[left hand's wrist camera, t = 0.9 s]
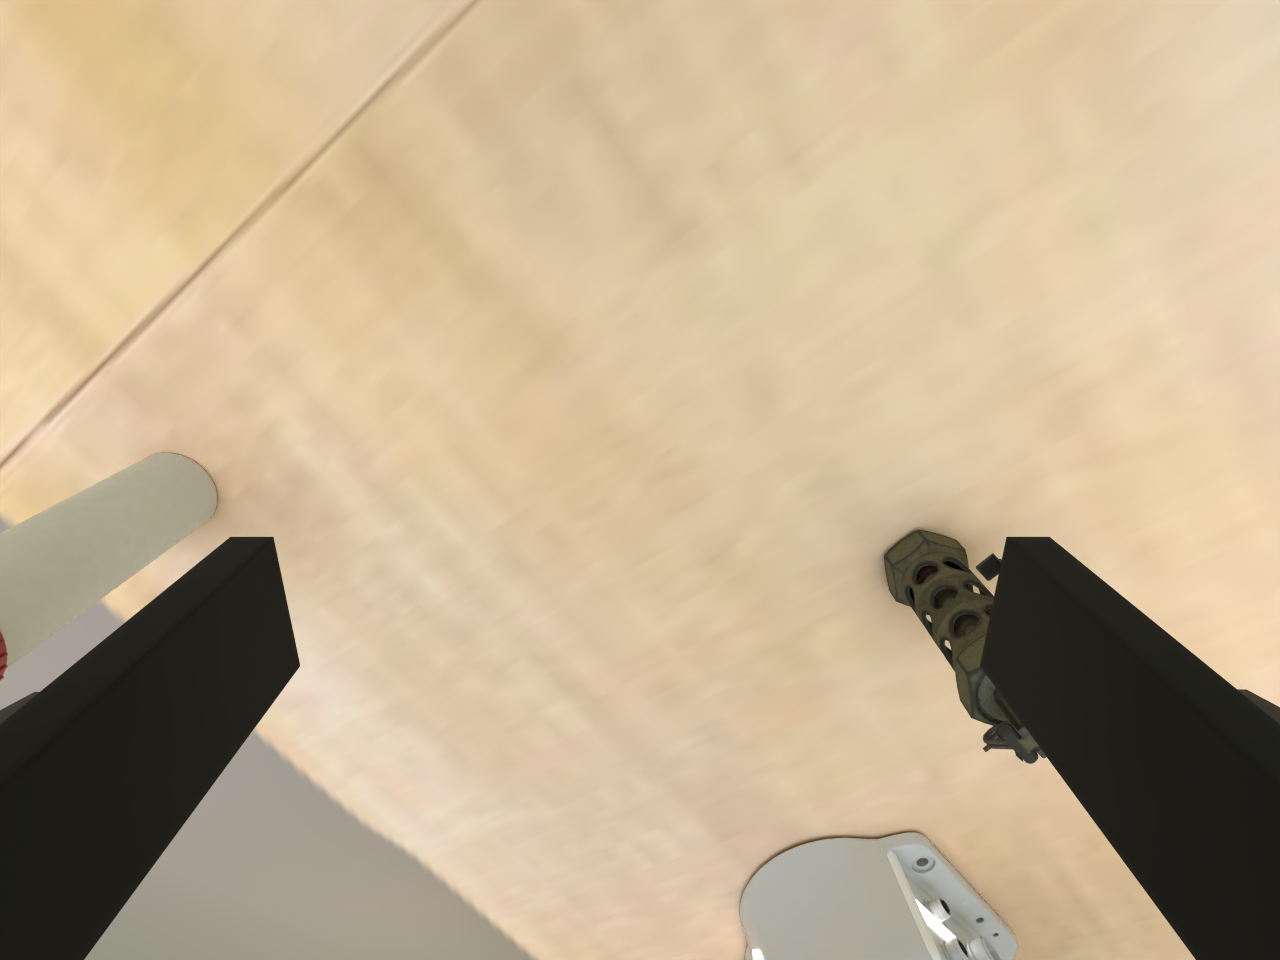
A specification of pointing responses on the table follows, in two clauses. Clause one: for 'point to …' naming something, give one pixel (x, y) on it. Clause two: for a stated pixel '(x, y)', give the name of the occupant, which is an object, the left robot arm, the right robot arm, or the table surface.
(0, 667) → the lid
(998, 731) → the grenade
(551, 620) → the table surface
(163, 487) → the jar
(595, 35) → the table surface
